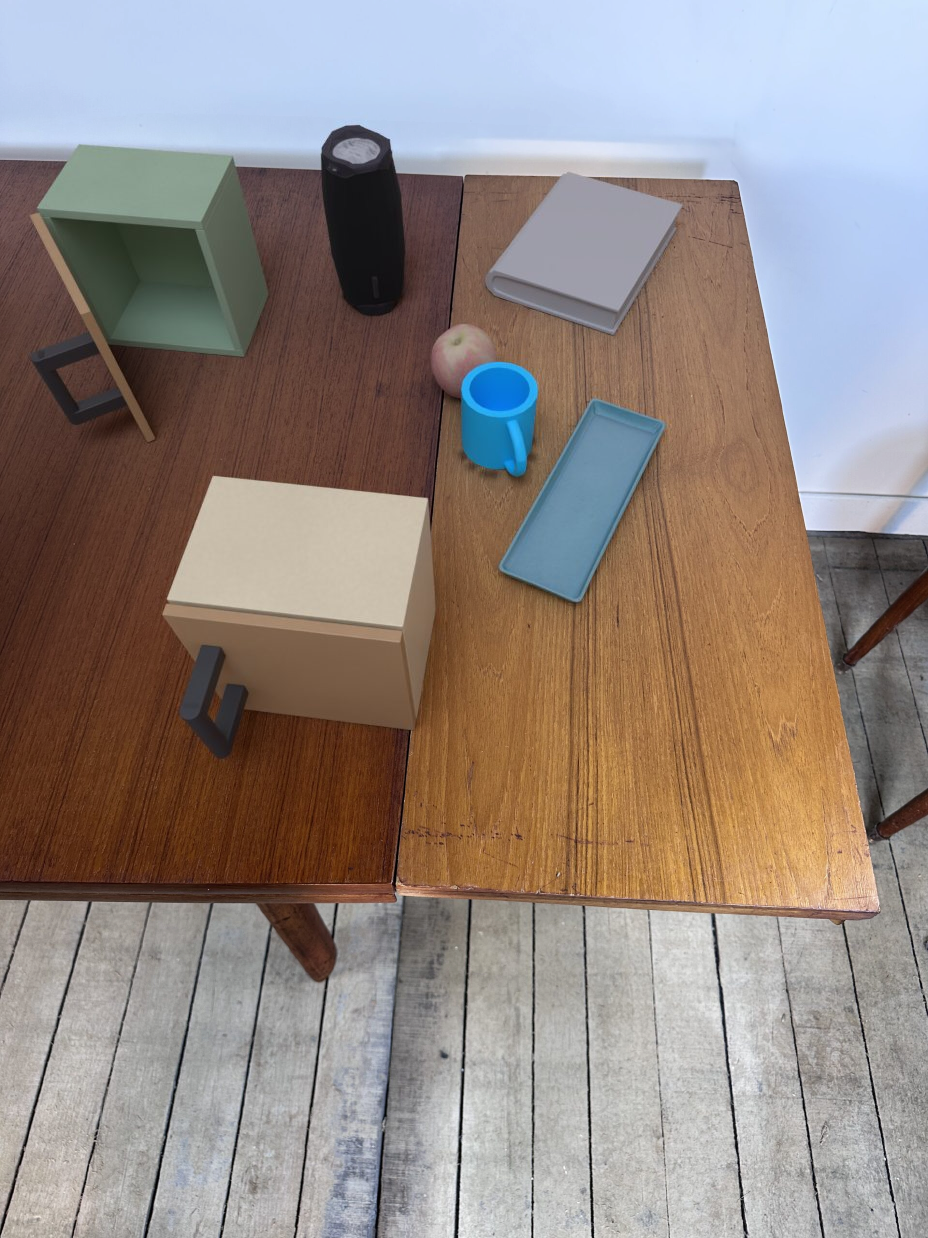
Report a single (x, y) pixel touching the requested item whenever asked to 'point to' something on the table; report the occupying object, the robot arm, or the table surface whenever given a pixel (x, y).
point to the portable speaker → (364, 217)
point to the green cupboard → (159, 247)
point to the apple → (460, 356)
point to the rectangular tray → (582, 500)
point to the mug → (498, 416)
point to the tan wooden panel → (82, 356)
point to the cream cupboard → (314, 559)
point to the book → (585, 252)
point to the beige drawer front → (288, 671)
